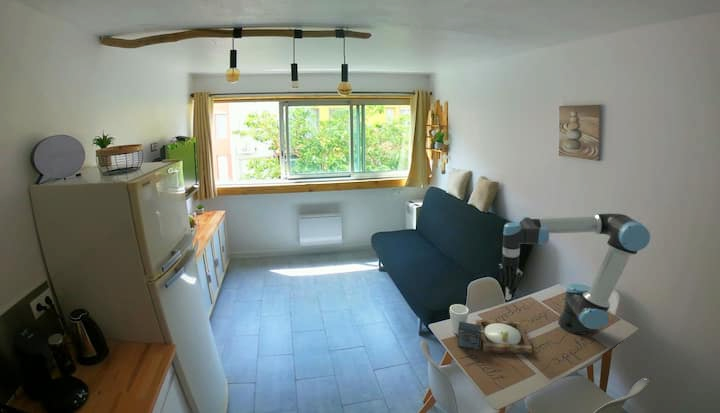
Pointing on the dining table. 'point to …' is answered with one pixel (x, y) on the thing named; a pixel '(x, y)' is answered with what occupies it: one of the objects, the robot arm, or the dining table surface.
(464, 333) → the small box
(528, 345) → the housing
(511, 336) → the dial
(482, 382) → the dining table surface
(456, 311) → the foam cup
